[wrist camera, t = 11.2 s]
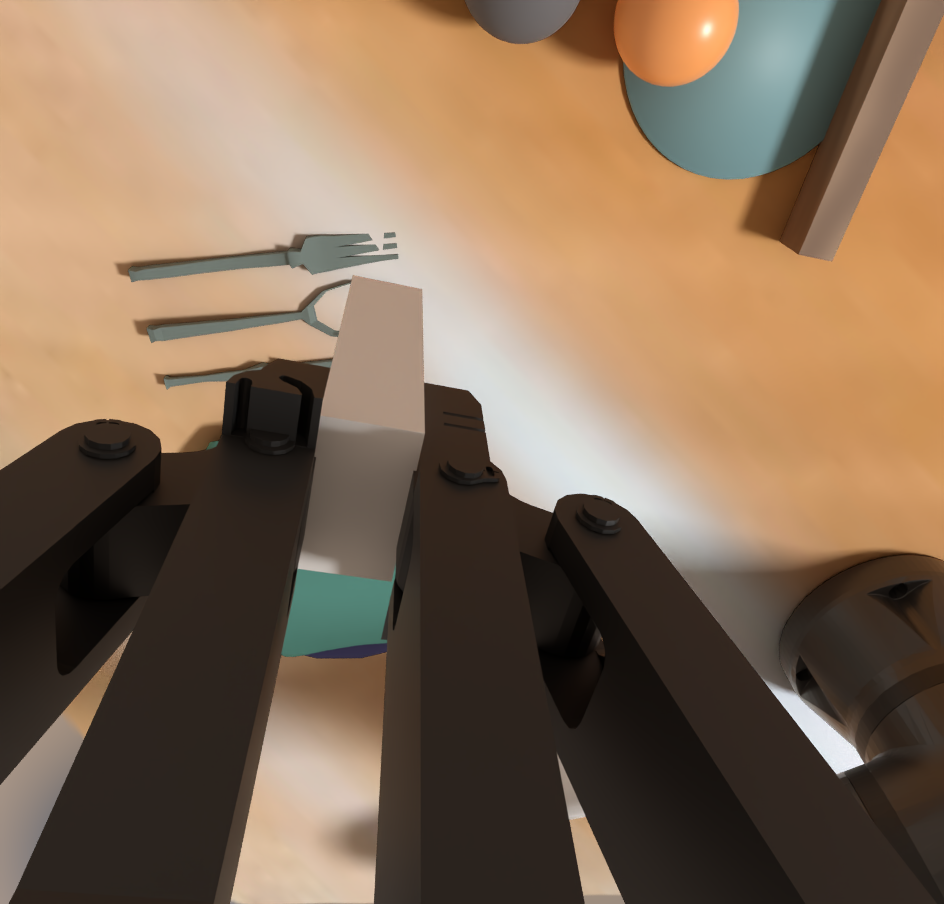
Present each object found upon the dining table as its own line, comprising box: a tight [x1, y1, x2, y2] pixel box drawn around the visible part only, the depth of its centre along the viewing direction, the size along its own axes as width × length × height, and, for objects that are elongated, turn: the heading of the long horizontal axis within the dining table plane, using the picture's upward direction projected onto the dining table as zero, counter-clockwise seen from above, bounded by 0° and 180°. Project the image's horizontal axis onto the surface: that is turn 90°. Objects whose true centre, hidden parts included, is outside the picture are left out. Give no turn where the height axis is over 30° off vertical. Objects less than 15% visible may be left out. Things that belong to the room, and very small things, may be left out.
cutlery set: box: [128, 233, 398, 658], centre depth 49 cm, size 20×30×2 cm, turn 5°
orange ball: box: [614, 0, 739, 87], centre depth 35 cm, size 6×6×6 cm
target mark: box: [623, 0, 881, 179], centre depth 39 cm, size 13×13×1 cm
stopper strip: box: [780, 0, 944, 261], centre depth 39 cm, size 2×18×2 cm, turn 168°
